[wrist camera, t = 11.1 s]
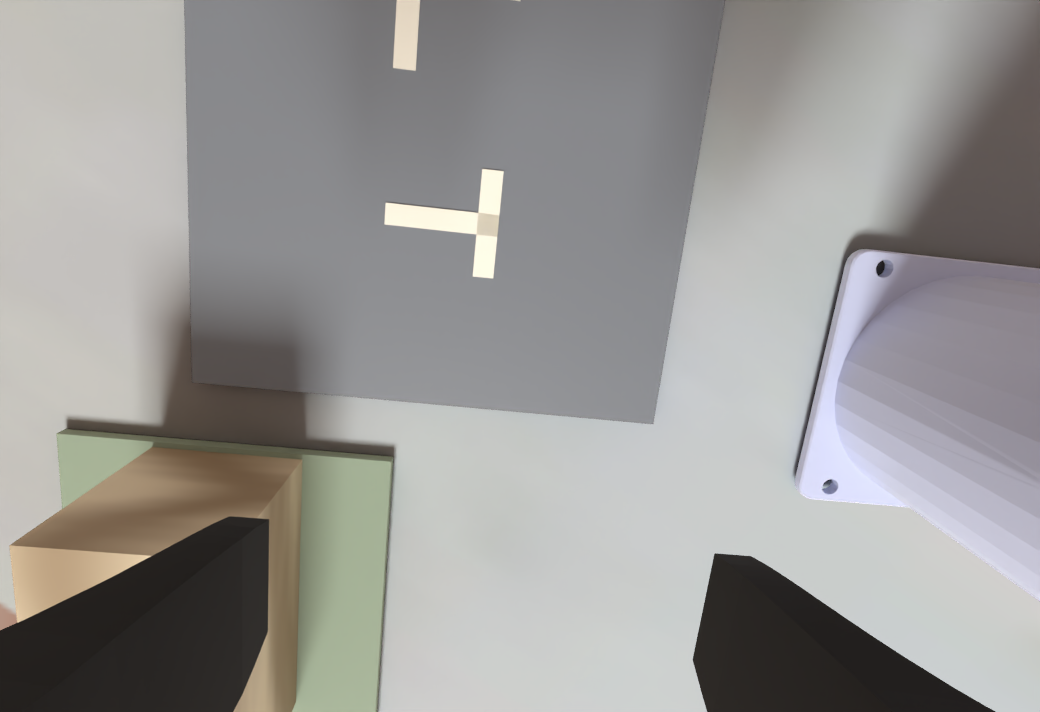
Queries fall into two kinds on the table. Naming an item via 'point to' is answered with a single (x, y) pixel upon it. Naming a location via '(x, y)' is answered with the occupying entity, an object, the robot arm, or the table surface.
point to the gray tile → (443, 196)
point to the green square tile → (323, 554)
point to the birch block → (165, 521)
